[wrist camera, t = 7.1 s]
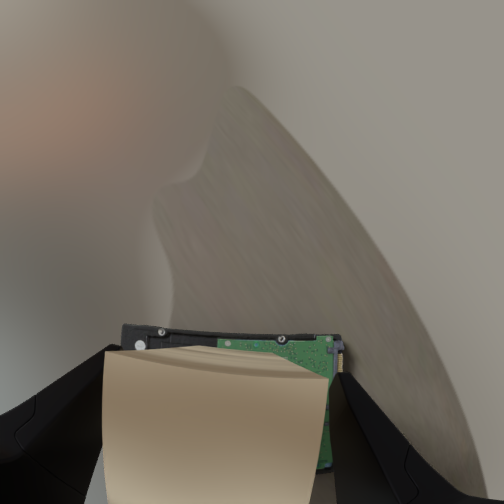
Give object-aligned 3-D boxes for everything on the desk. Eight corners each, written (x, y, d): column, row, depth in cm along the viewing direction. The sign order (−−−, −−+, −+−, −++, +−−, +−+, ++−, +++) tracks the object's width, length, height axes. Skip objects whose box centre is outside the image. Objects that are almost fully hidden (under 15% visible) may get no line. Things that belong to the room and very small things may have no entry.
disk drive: (135, 450, 16) (328, 459, 16) (121, 461, 13) (339, 473, 13) (135, 325, 19) (333, 332, 19) (119, 321, 17) (345, 329, 17)
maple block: (265, 420, 15) (298, 542, 3) (193, 413, 15) (109, 514, 3) (272, 352, 16) (328, 378, 5) (199, 345, 16) (105, 351, 5)
